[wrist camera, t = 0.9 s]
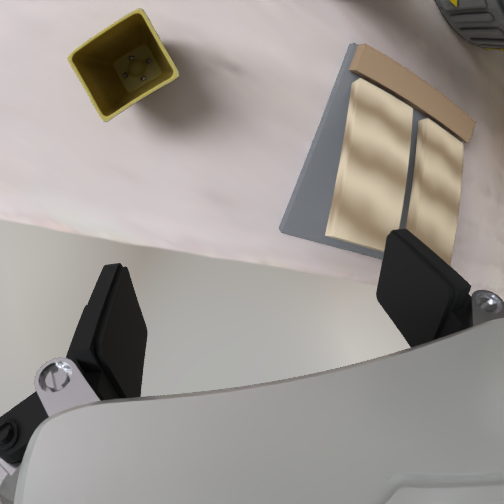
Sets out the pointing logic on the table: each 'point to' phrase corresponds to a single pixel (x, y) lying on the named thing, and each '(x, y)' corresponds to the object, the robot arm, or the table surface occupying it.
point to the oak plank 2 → (436, 188)
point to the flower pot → (122, 64)
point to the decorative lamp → (476, 21)
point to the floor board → (332, 134)
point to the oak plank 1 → (371, 168)
